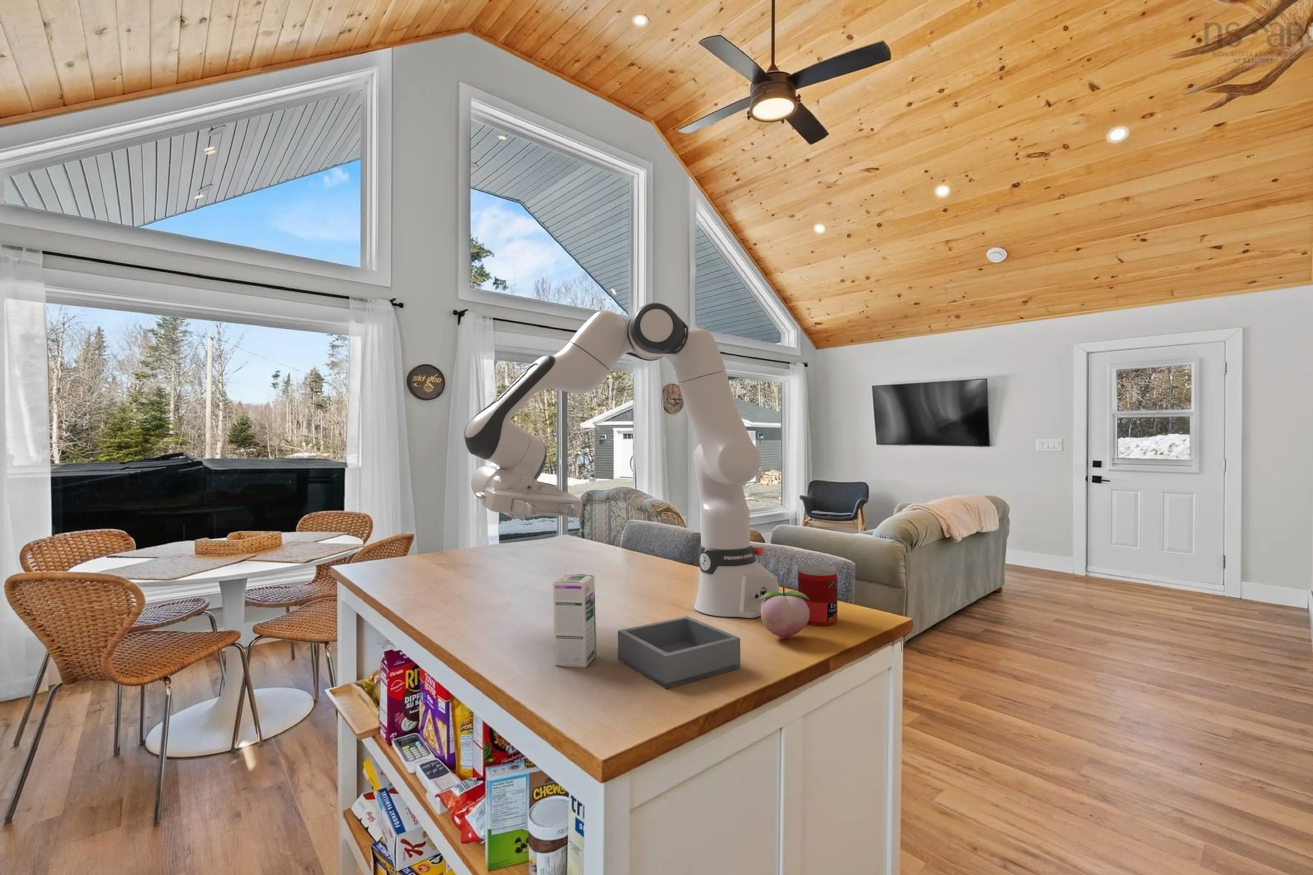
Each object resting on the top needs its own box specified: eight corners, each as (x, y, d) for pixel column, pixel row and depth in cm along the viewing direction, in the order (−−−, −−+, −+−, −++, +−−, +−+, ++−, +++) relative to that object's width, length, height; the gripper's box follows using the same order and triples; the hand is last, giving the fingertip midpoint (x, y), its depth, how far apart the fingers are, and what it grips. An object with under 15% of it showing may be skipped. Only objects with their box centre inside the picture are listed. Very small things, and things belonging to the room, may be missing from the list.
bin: (687, 642, 112) (687, 616, 112) (740, 667, 100) (740, 637, 100) (618, 659, 104) (617, 630, 104) (666, 689, 91) (665, 656, 91)
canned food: (836, 628, 120) (836, 573, 120) (796, 624, 123) (795, 570, 123) (838, 617, 127) (838, 565, 127) (800, 613, 130) (800, 563, 130)
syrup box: (586, 668, 100) (585, 582, 100) (553, 666, 101) (552, 580, 101) (596, 656, 106) (596, 574, 106) (565, 654, 107) (564, 573, 107)
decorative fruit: (799, 630, 119) (798, 580, 119) (815, 644, 111) (814, 590, 111) (753, 632, 118) (753, 582, 118) (766, 647, 109) (765, 592, 109)
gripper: (474, 476, 115) (509, 491, 105) (562, 485, 129) (600, 499, 119) (468, 508, 115) (502, 526, 105) (556, 514, 129) (594, 530, 119)
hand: (554, 512), depth 112 cm, fingers open, 8 cm apart
